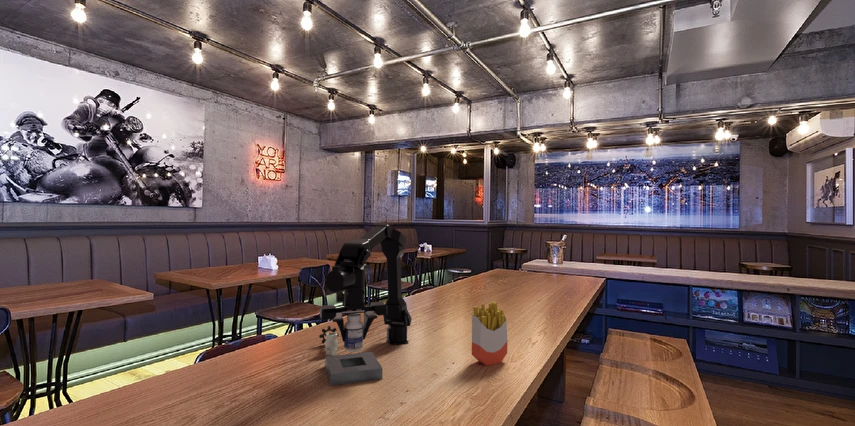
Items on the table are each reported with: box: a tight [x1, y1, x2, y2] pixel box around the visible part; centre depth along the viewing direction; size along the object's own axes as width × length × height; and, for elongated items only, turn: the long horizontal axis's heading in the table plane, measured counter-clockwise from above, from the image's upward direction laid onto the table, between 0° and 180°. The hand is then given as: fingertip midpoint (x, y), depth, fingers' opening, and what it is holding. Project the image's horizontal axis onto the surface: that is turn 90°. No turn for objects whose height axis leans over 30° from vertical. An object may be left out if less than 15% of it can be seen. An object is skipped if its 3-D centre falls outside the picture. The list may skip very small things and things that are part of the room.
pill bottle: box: [343, 313, 364, 353], centre depth 111 cm, size 5×5×10 cm
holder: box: [324, 351, 383, 387], centre depth 111 cm, size 14×14×3 cm
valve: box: [318, 325, 340, 356], centre depth 130 cm, size 7×7×12 cm
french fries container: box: [471, 301, 508, 366], centre depth 121 cm, size 5×11×18 cm, turn 119°
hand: (353, 340), depth 111 cm, fingers closed on pill bottle, 5 cm apart
